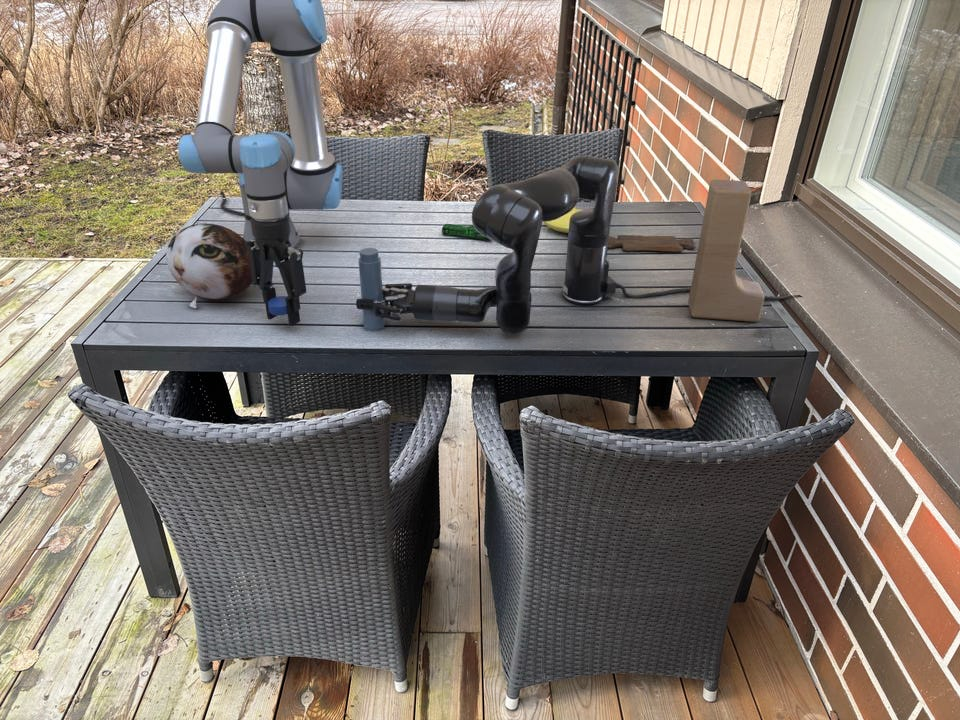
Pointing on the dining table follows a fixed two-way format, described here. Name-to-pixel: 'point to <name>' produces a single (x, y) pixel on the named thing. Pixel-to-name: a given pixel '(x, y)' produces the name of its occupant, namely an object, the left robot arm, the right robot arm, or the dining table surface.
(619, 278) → the dining table surface
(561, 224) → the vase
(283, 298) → the lid
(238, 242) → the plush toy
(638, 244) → the wooden paddle board
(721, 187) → the decorative block
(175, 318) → the dining table surface
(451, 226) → the handgun
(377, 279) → the blue-grey bottle
